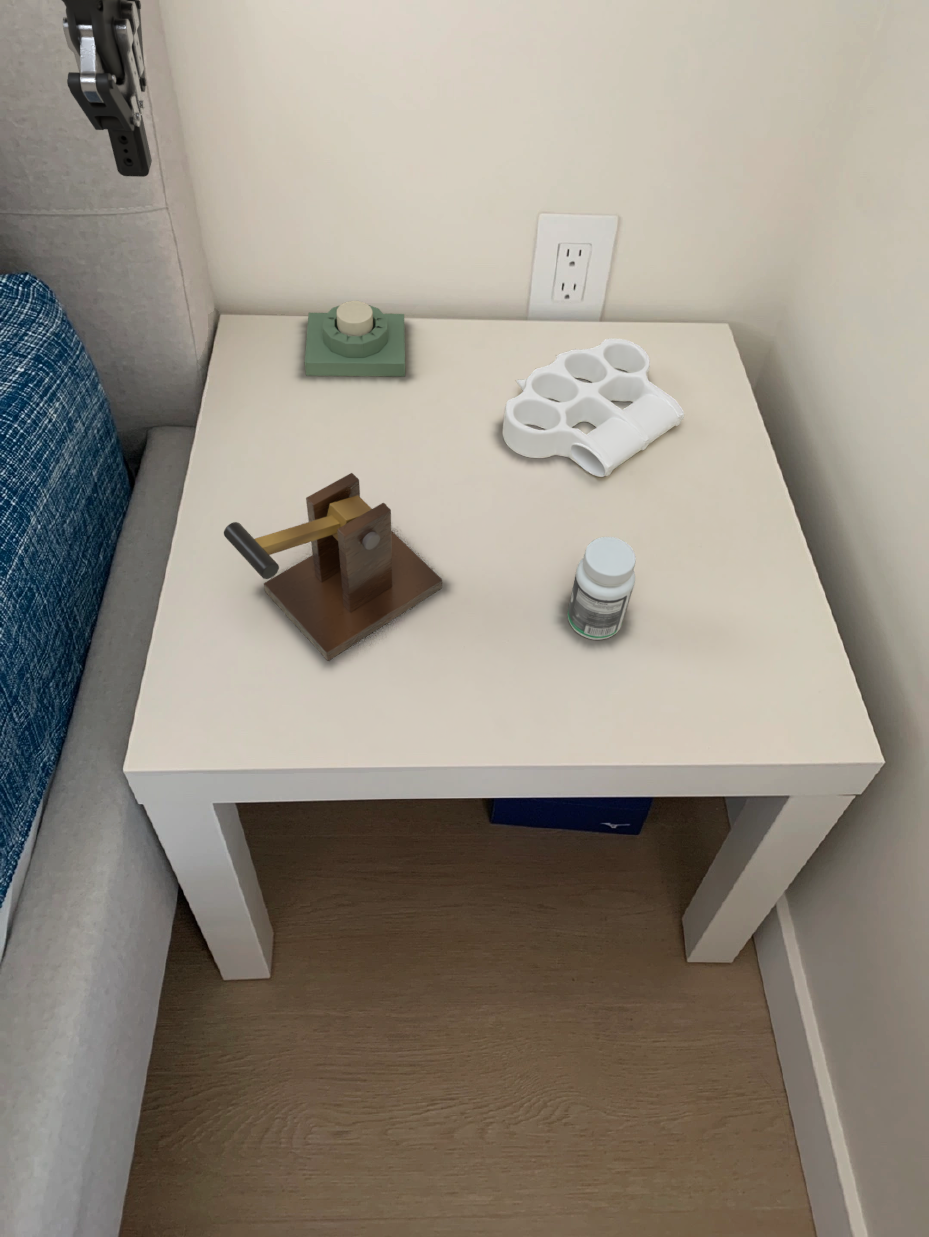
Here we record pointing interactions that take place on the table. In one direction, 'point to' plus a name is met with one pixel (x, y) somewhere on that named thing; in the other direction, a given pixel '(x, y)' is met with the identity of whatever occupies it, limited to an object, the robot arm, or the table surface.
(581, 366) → the knuckle duster
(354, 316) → the button
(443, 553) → the table surface
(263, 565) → the switch lever
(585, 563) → the pill bottle
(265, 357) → the table surface
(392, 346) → the button block
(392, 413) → the table surface
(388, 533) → the switch bracket
